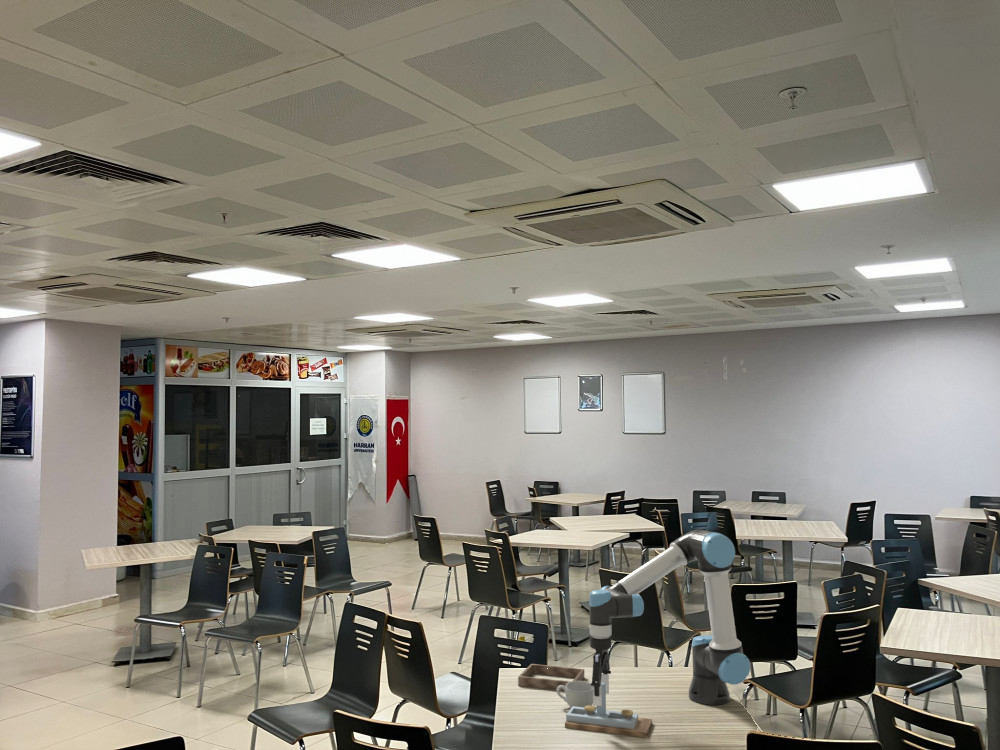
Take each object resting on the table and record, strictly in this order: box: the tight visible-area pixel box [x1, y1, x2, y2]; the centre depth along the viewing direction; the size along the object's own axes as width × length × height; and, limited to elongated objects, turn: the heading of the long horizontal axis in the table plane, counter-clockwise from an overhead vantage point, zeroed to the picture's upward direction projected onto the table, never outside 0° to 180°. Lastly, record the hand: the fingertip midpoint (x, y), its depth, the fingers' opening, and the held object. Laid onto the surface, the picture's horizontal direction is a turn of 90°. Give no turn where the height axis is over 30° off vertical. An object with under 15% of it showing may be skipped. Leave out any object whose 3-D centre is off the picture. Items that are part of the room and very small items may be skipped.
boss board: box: [564, 704, 653, 738], centre depth 268 cm, size 28×13×5 cm, turn 71°
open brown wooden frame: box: [517, 663, 585, 692], centre depth 314 cm, size 23×18×4 cm
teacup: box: [556, 680, 593, 708], centre depth 286 cm, size 14×11×8 cm
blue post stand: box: [565, 682, 639, 729], centre depth 269 cm, size 24×9×12 cm, turn 71°
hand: (601, 699), depth 269 cm, fingers open, 12 cm apart
